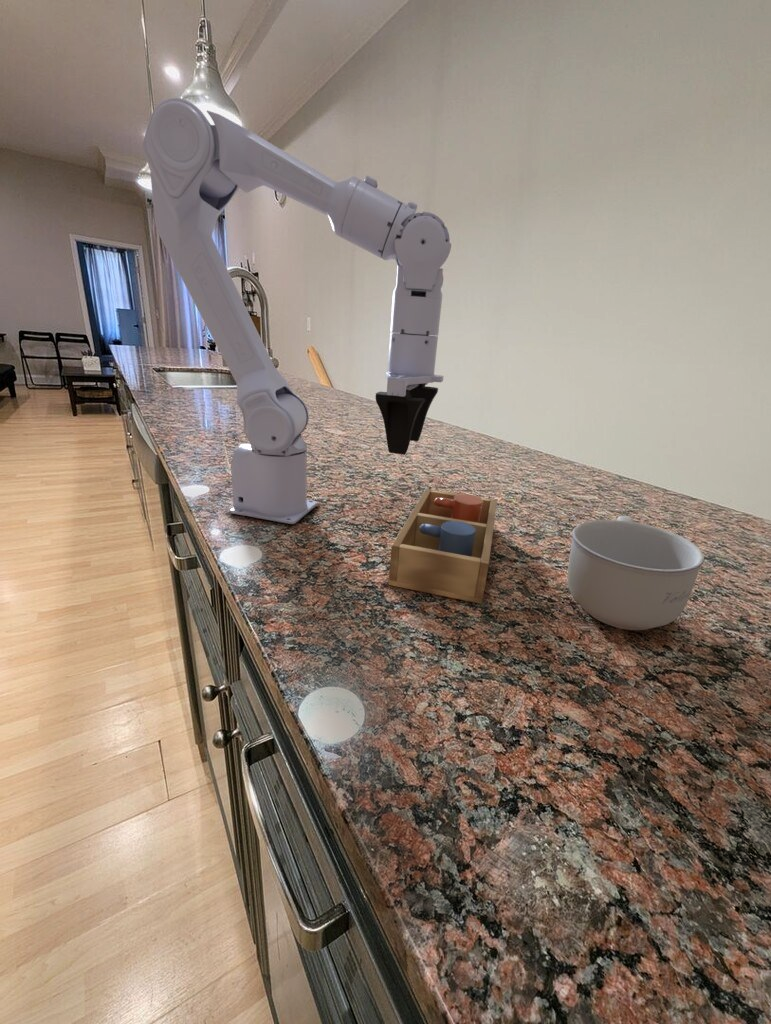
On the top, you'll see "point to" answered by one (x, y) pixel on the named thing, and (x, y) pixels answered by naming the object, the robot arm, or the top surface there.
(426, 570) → the caddy
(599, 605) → the teacup
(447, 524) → the blue scoop
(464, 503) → the terracotta scoop
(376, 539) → the top surface
